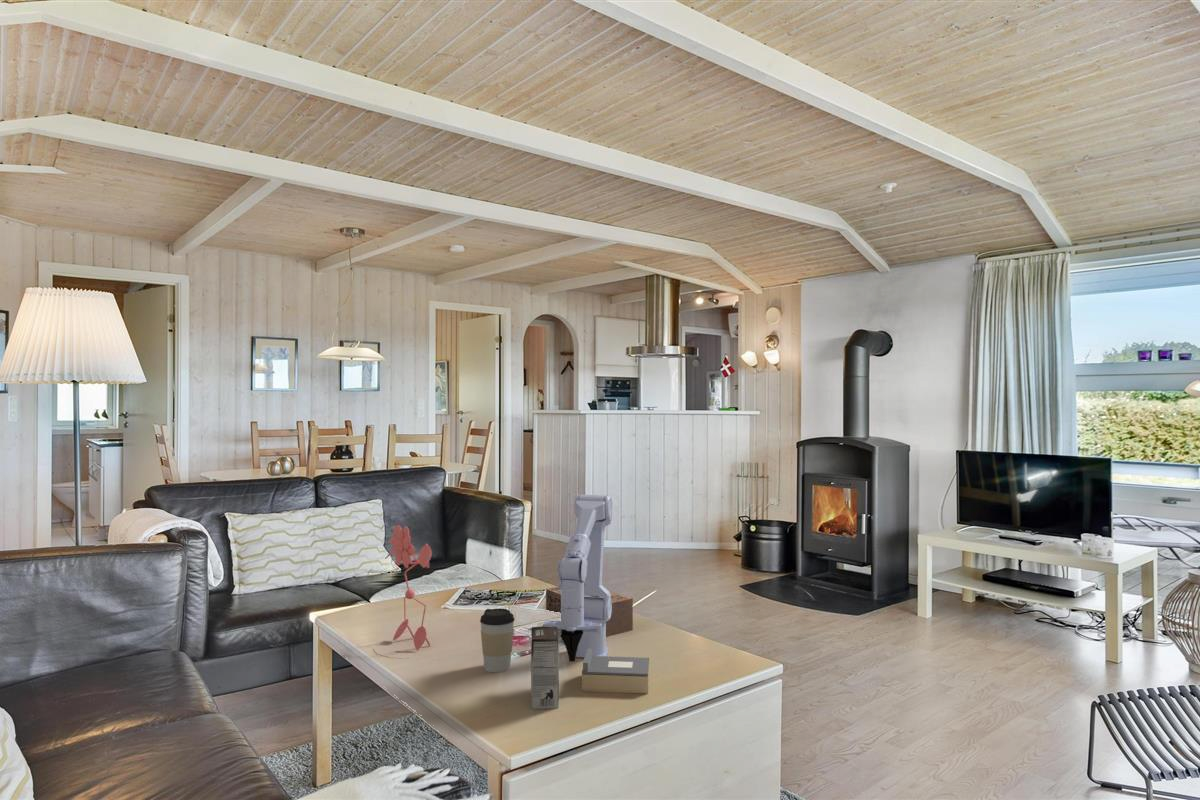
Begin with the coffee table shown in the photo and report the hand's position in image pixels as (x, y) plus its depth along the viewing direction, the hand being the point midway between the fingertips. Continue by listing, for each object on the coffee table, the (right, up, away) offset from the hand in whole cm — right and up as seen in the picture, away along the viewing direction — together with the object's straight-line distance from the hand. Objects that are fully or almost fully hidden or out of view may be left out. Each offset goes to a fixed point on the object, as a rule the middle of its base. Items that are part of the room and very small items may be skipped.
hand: (572, 660), depth 183 cm
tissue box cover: (+3, -6, +47) cm, 47 cm away
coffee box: (-6, -6, -11) cm, 14 cm away
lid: (+11, -1, -1) cm, 11 cm away
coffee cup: (-20, -6, +10) cm, 23 cm away
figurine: (-50, -6, +26) cm, 56 cm away
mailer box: (+11, -5, -1) cm, 12 cm away
